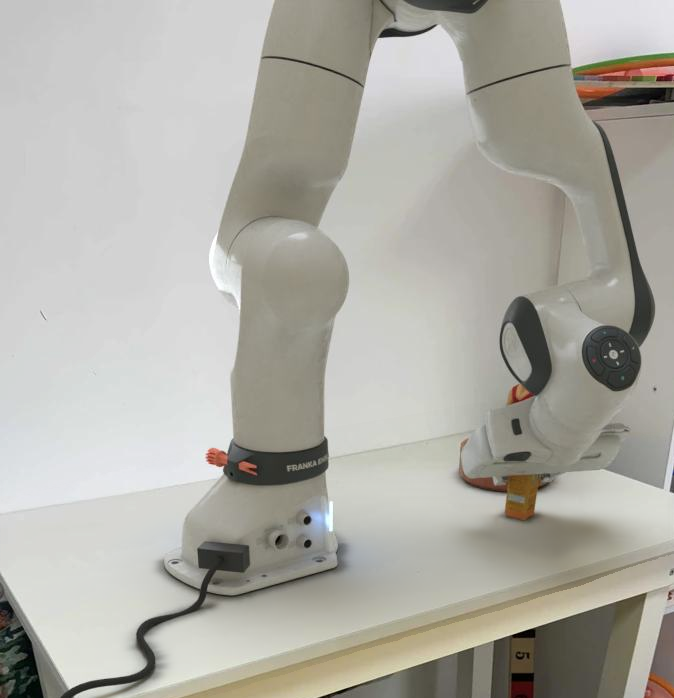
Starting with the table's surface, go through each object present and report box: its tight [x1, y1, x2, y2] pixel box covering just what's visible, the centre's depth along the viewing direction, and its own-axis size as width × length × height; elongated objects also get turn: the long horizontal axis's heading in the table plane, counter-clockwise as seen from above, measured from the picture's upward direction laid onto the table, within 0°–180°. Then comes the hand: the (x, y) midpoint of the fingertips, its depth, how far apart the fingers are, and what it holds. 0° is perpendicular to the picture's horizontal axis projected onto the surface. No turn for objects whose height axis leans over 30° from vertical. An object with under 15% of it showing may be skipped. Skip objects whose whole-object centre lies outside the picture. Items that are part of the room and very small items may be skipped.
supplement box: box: [504, 474, 540, 521], centre depth 120 cm, size 3×3×10 cm
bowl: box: [458, 437, 549, 492], centre depth 136 cm, size 14×14×5 cm
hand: (521, 479), depth 120 cm, fingers open, 5 cm apart
